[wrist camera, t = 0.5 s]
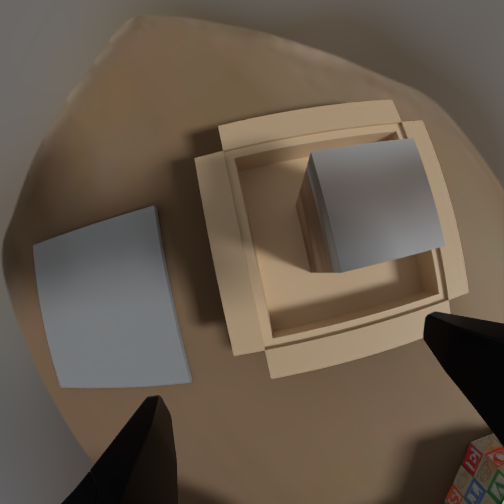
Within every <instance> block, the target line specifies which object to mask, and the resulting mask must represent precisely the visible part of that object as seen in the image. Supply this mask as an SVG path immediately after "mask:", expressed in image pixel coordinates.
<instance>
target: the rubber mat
mask: <svg viewBox="0 0 504 504" xmlns="http://www.w3.org/2000/svg"><path fill="white" fill-rule="evenodd" d="M33 254H34V265H35V273H36V281H37V288H38V295H39V301H40V307H41V312H42V317H43V322H44V327H45V332H46V336H47V340H48V344H49V348H50V352H51V356H52V360H53V363H54V367H55V370H56V374H57V377H58V380H59V384H60V387H64V388H122V387H144V386H159V385H172V384H182V383H191V382H192V376H191V372H190V369H189V365H188V361H187V357H186V353H185V349H184V345H183V341H182V337H181V333H180V328H179V324H178V320H177V315H176V311H175V306H174V301H173V297H172V292H171V287H170V282H169V277H168V271H167V266H166V261H165V255H164V249H163V244H162V238H161V231H160V225H159V219H158V212H157V207H156V206H150V207H147V208H143V209H140V210H137V211H133V212H130V213H127V214H123V215H120V216H117V217H114V218H110V219H107V220H104V221H101V222H98V223H95V224H92V225H89V226H86V227H83V228H80V229H77V230H74V231H71V232H68V233H65V234H62V235H60V236H57V237H54V238H51V239H48V240H46V241H43V242H40V243H38V244H35V245H33Z"/></svg>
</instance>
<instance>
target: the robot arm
mask: <svg viewBox="0 0 504 504" xmlns="http://www.w3.org/2000/svg"><path fill="white" fill-rule="evenodd" d="M423 338H424V341H425V342H426V344H427V345H428V347H429V348H430V349H431V351H432V352H433V354H434V355H435V357H436V358H437V360H438V361H439V363H440V364H441V366H442V367H443V369H444V370H445V371H446V373H447V374H448V375H449V376H450V378H451V379H452V380H453V381H454V383H455V384H456V385H457V386H458V388H459V389H460V390H461V391H462V393H463V394H464V395H465V396H466V398H467V399H468V400H469V401H470V403H471V404H472V405H473V407H474V408H475V409H476V410H477V412H478V413H479V414H480V416H481V417H482V418H483V420H484V421H485V422H486V424H487V425H488V426H489V428H490V429H491V430H492V432H493V433H494V434H495V436H496V437H497V439H498V440H499V441H500V443H501V444H502V446H503V447H504V324H503V323H497V322H492V321H486V320H480V319H475V318H469V317H464V316H458V315H453V314H448V313H442V312H437V311H435V312H432V313H430V314H428V315H427V316H426V317H425V322H424V330H423ZM61 504H178V490H177V459H176V451H175V443H174V436H173V427H172V419H171V415H170V412H169V411H168V409H167V407H166V405H165V403H164V401H163V399H162V398H161V396H159V395H156V396H149V397H147V398H146V399H145V400H144V401H143V403H142V404H141V405H140V407H139V408H138V409H137V410H136V412H135V413H134V414H133V416H132V417H131V418H130V419H129V421H128V422H127V423H126V425H125V426H124V427H123V429H122V430H121V431H120V432H119V434H118V435H117V436H116V438H115V439H114V440H113V441H112V443H111V444H110V445H109V447H108V448H107V449H106V450H105V452H104V453H103V454H102V456H101V457H100V458H99V459H98V461H97V462H96V463H95V465H94V466H93V467H92V469H91V470H90V472H88V474H87V475H86V476H85V477H84V479H83V480H82V481H81V482H80V484H79V485H78V486H77V487H76V488H75V489H74V491H73V492H72V493H71V494H70V495H69V496H68V497H67V498H66V499H65V500H64V501H63V502H62V503H61Z"/></svg>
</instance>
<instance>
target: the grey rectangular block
mask: <svg viewBox="0 0 504 504" xmlns="http://www.w3.org/2000/svg"><path fill="white" fill-rule="evenodd" d="M296 210H297V214H298V218H299V222H300V226H301V231H302V235H303V239H304V244H305V248H306V253H307V257H308V262H309V266H310V271H311V273H343V272H347V271H351V270H355V269H359V268H363V267H367V266H371V265H375V264H379V263H383V262H387V261H391V260H395V259H399V258H403V257H406V256H410V255H414V254H418V253H421V252H425V251H429V250H432V249H436V248H440V247H443V246H445V242H444V238H443V233H442V229H441V225H440V221H439V217H438V213H437V209H436V205H435V201H434V198H433V194H432V191H431V188H430V184H429V181H428V178H427V175H426V172H425V169H424V166H423V163H422V160H421V157H420V154H419V151H418V149H417V146H416V143H415V141H414V138H408V139H398V140H389V141H381V142H373V143H365V144H358V145H351V146H344V147H338V148H331V149H325V150H319V151H313V152H311V153H310V157H309V160H308V164H307V167H306V171H305V174H304V178H303V181H302V185H301V188H300V192H299V195H298V198H297V202H296Z"/></svg>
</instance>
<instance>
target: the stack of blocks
mask: <svg viewBox="0 0 504 504" xmlns="http://www.w3.org/2000/svg"><path fill="white" fill-rule="evenodd" d="M443 504H504V447H503V446H502V444H501V443H500V441H499V440H498V439H497V437H496V436H495V434H494V433H493V434H490V435H487V436H485V437H482V438H479V439H477V440H474V441H472V442H470V444H469V446H468V449H467V452H466V455H465V457H464V460H463V462H462V464H461V466H460V468H459V470H458V473H457V475H456V477H455V480H454V483H453V484H452V486H451V488H450V490H449V492H448V494H447V496H446V498H445V501H444V503H443Z"/></svg>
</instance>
